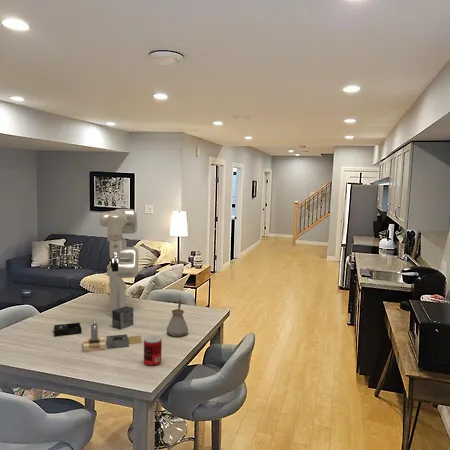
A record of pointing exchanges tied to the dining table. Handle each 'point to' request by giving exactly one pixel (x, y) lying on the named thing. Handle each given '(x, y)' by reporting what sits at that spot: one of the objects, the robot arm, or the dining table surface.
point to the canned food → (152, 350)
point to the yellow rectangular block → (134, 339)
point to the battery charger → (67, 329)
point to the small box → (122, 317)
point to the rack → (94, 345)
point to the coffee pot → (177, 323)
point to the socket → (117, 341)
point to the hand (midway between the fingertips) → (114, 269)
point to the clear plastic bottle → (94, 333)
